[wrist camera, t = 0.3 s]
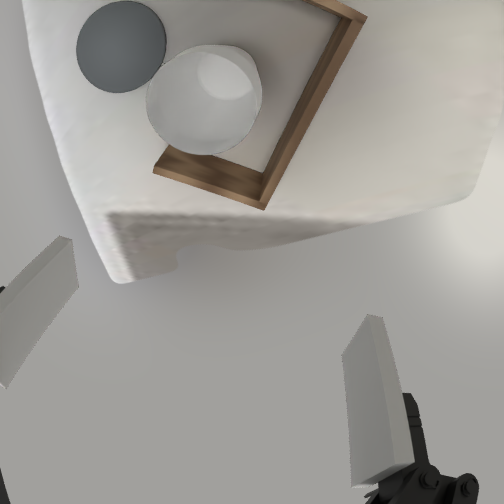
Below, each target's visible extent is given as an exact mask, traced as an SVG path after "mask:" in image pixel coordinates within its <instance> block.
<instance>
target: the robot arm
mask: <svg viewBox="0 0 504 504" xmlns="http://www.w3.org/2000/svg"><path fill="white" fill-rule="evenodd" d="M78 287H79V285H78V279H77V272H76V266H75V259H74V252H73V244H72V239H69V238H65V237H62V236H59V237H58V238H56V239H55V240H54V241H53V242H52V243H51V244H50V245H49V246H48V247H47V248H45V249H44V250H43V251H42V252H41V253H40V254H39V255H38V256H37V257H36V258H35V259H34V260H33V261H32V262H31V263H30V264H28V265H27V266H26V267H25V268H24V269H23V270H22V271H21V272H20V274H18V275H17V276H16V277H15V279H14V280H13V281H12V282H11V283H10V284H9V285H8V286H7V287H4V286H2V287H0V386H2V387H3V388H5V389H7V387H8V386H9V384H10V382H11V381H12V379H13V378H14V376H15V374H16V373H17V371H18V370H19V368H20V367H21V365H22V364H23V362H24V361H25V359H26V357H27V356H28V354H29V353H30V352H31V350H32V349H33V347H34V346H35V344H36V343H37V341H38V340H39V339H40V337H41V336H42V335H43V333H44V332H45V330H46V329H47V327H48V326H49V325H50V324H51V322H52V321H53V320H54V318H55V317H56V316H57V314H58V313H59V312H60V310H61V309H62V307H63V306H64V305H65V303H66V302H67V301H68V300H69V299H70V297H71V296H72V295H73V294H74V292H75V291H76V290H77V289H78ZM342 362H343V370H344V380H345V391H346V402H347V414H348V427H349V442H350V463H351V487H370V486H371V485H374V484H376V483H378V487H379V488H378V489H376V490H374V491H372V492H370V493H367V494H366V495H365V496H364V497H365V498H367V497H369V496H371V497H370V498H369V500H368V501H367V502H366V503H365V504H476V502H477V497H478V492H479V484H478V481H477V479H476V477H475V476H474V475H472V474H469V473H466V474H463V475H461V476H459V477H458V478H453V477H449V476H444V475H441V474H440V472H439V470H438V469H437V468H436V467H435V466H433V465H430V463H429V460H428V455H427V449H426V444H425V438H424V433H423V428H422V427H421V426H422V423H421V419H420V418H419V417H420V414H419V410H418V405H417V403H416V402H415V400H414V398H413V396H412V395H411V393H402V390H401V386H400V382H399V377H398V373H397V369H396V365H395V361H394V357H393V353H392V349H391V346H390V342H389V338H388V335H387V331H386V328H385V324H384V321H383V317H378V316H373V315H368V314H367V316H366V318H365V319H364V321H363V322H362V324H361V326H360V327H359V329H358V331H357V332H356V334H355V335H354V337H353V338H352V340H351V341H350V343H349V345H348V346H347V348H346V349H345V351H344V352H343V354H342ZM0 504H10V501H9V498H8V495H7V491H6V488H5V484H4V481H3V477H2V473H1V469H0Z"/></svg>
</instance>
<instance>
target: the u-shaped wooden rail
mask: <svg viewBox="0 0 504 504" xmlns="http://www.w3.org/2000/svg"><path fill="white" fill-rule="evenodd" d="M302 1H304V2H307V3H309V4H312V5H314V6H316V7H319V8H321V9H323V10H325V11H328V12H330V13H332V14H334V15H336V16H338V17H340V18H341V19H340V21H339V23H338V25H337V27H336V29H335V31H334V33H333V35H332V36H331V38H330V40H329V42H328V44H327V46H326V48H325V50H324V52H323V54H322V56H321V58H320V60H319V62H318V64H317V66H316V68H315V69H314V71H313V73H312V75H311V77H310V79H309V81H308V83H307V85H306V87H305V89H304V91H303V93H302V95H301V97H300V99H299V101H298V103H297V105H296V107H295V109H294V111H293V113H292V115H291V117H290V119H289V121H288V123H287V125H286V127H285V130H284V132H283V134H282V136H281V138H280V140H279V142H278V144H277V146H276V148H275V150H274V152H273V154H272V156H271V158H270V160H269V162H268V165H267V167H266V169H265V171H264V173H263V174H262V173H260V172H257V171H254V170H252V169H249V168H246V167H243V166H241V165H238V164H235V163H232V162H229V161H226V160H224V159H221V158H218V157H215V156H212V155H196V154H190V153H187V152H184V151H181V150H179V149H177V148H175V147H173V146H171V145H170V144H169V146H168V147H167V148H166V150H165V151H164V152H163V154H162V155H161V157H160V158H159V160H158V161H157V162H156V164H155V165H154V169H153V173H154V174H157V175H160V176H164V177H167V178H170V179H173V180H176V181H179V182H182V183H185V184H188V185H191V186H194V187H197V188H200V189H203V190H206V191H209V192H212V193H215V194H218V195H221V196H224V197H227V198H230V199H232V200H235V201H238V202H241V203H244V204H247V205H249V206H252V207H255V208H258V209H261V210H263V211H264V210H265V208H266V206H267V204H268V202H269V200H270V198H271V197H272V195H273V193H274V191H275V189H276V187H277V185H278V183H279V181H280V179H281V178H282V176H283V174H284V172H285V170H286V168H287V166H288V164H289V162H290V161H291V159H292V157H293V155H294V153H295V151H296V149H297V147H298V145H299V144H300V142H301V140H302V138H303V136H304V134H305V132H306V130H307V128H308V127H309V125H310V123H311V121H312V119H313V117H314V115H315V114H316V112H317V110H318V108H319V106H320V104H321V102H322V100H323V99H324V97H325V95H326V93H327V91H328V89H329V87H330V86H331V84H332V82H333V80H334V78H335V76H336V74H337V73H338V71H339V69H340V67H341V65H342V63H343V61H344V60H345V58H346V56H347V54H348V52H349V50H350V49H351V47H352V45H353V43H354V41H355V39H356V37H357V36H358V34H359V32H360V30H361V28H362V26H363V25H364V23H365V21H366V19H367V16H366V15H364V14H362V13H360V12H358V11H356V10H354V9H352V8H350V7H348V6H346V5H344V4H342V3H340V2H338V1H336V0H302Z"/></svg>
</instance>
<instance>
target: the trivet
mask: <svg viewBox="0 0 504 504" xmlns="http://www.w3.org/2000/svg"><path fill="white" fill-rule="evenodd" d="M165 51H166V34H165V30H164V27H163V24H162V22H161V21H160V19H159V17H158V16H157V15H156V14H155V13H154V12H153V11H152V10H151V9H150V8H148V7H147V6H145V5H143V4H140V3H137V2H132V1H120V2H114V3H110V4H108V5H105V6H103V7H101V8H100V9H98V10H97V11H96V12H94V13H93V14H92V15H91V16H90V17H89V18H88V19H87V21H86V22H85V24H84V25H83V27H82V29H81V31H80V34H79V36H78V40H77V47H76V54H77V60H78V64H79V67H80V69H81V71H82V73H83V75H84V76H85V77H86V79H87V80H88V81H89V82H90V83H91V84H93V85H94V86H96V87H97V88H99V89H101V90H103V91H107V92H112V93H123V92H128V91H131V90H134V89H136V88H138V87H140V86H142V85H143V84H145V83H146V82H147V81H149V80H150V79H151V78H152V77H153V76H154V74H155V73H156V72H157V70H158V69H159V67H160V65H161V63H162V61H163V58H164V56H165Z"/></svg>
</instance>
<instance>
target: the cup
mask: <svg viewBox="0 0 504 504" xmlns="http://www.w3.org/2000/svg"><path fill="white" fill-rule="evenodd" d="M261 104H262V85H261V81H260V77H259V74H258V70H257V67H256V64H255V62H254V60H253V58H252V57H251V56H250V55H249V54H248V53H247V52H246V51H244V50H243V49H240V48H238V47H235V46H227V45H201V46H196V47H192V48H189V49H186V50H184V51H182V52H181V53H179V54H177V55H176V56H175V57H173V58H172V59H171V60H170V61H168V62H167V63H165V64H164V65H163V66H162V67H161V68H160V69H159V70H158V71H157V72H156V73H155V75H154V76H153V78H152V80H151V82H150V84H149V87H148V90H147V95H146V108H147V113H148V117H149V120H150V122H151V124H152V126H153V128H154V129H155V131H156V132H157V133H158V134H159V136H160V137H161V138H162V139H163V140H165V141H166V142H167V143H168V144H170V145H171V146H173V147H175V148H177V149H179V150H181V151H184V152H187V153H190V154H196V155H212V154H217V153H221V152H224V151H226V150H229V149H231V148H232V147H234V146H236V145H237V144H238V143H240V142H241V141H242V140H243V139H244V138H245V137H246V135H247V134H248V133H249V131H250V130H251V128H252V126H253V124H254V121H255V119H256V117H257V115H258V113H259V111H260V108H261Z"/></svg>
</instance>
